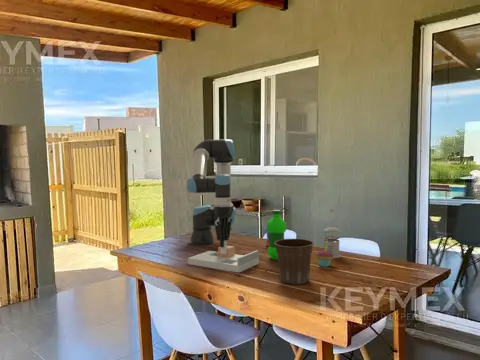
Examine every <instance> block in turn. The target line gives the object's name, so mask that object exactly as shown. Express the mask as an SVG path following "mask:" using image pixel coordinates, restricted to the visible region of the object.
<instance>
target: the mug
mask: <svg viewBox="0 0 480 360" xmlns="http://www.w3.org/2000/svg"><path fill="white" fill-rule="evenodd" d="M264 231H265V232H266V233H265V234H266V243H265V245H266V247H269V232H268V231H267V227H265V228H264Z"/></svg>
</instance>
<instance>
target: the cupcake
mask: <svg viewBox="0 0 480 360" xmlns="http://www.w3.org/2000/svg"><path fill="white" fill-rule="evenodd" d="M327 242H328V241H327ZM327 242H326V247H325V251H324V249H323V250H319V251H317V252H316V254H315V259H317V262H318V265H319V266H320V267H326V268H327V267H329V266H330V265H331V262H332V261H333V259H334V258H333V254H332V253H331V252H329V251H328V250H327V248H328V247H327V246H328V245H327Z"/></svg>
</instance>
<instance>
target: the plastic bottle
mask: <svg viewBox="0 0 480 360" xmlns="http://www.w3.org/2000/svg"><path fill="white" fill-rule="evenodd" d="M272 215H273V217H271V218H270V220H268V221H267V224H266V228H267V231H268V232H269V246H268V247H267V254H268V256H269V257H270V258H271V259H272V260H277V261H278V255H277V252H276V245H275V244H274V243H275V241H278V240H282V239H285V232H286V231H287V223H286V221H285V220H284V219H283V218H282V217H281V209H273V210H272Z"/></svg>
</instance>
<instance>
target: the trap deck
mask: <svg viewBox="0 0 480 360" xmlns="http://www.w3.org/2000/svg"><path fill="white" fill-rule="evenodd" d="M259 254H260V251H259V250H254V251H251V252H250V253H246V254H245V255H242V254H237V253H235V255H234V256H231V257H229V258H227V257H220V256H218V251H214V250H207V251H204V252H201V253H198V254H196V255H193V256H190V257H187V265H190V266H191V265H192V266H197V267H198V266H199V267H204V268H210V269H216V270H222V271H228V272H234V273H242V272H244V271H247V270H249V269H250V268H252V267H255V266H256V265H259V263H260V262H259V261H260V260H259V259H260V256H259Z"/></svg>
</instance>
